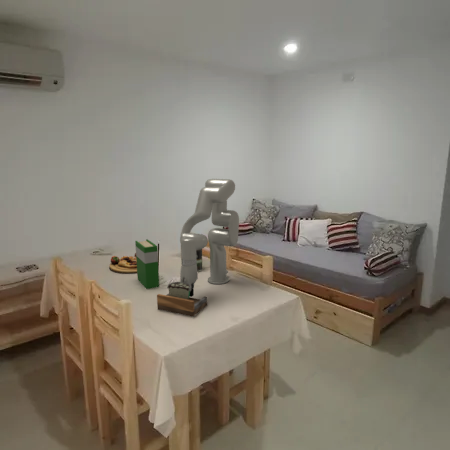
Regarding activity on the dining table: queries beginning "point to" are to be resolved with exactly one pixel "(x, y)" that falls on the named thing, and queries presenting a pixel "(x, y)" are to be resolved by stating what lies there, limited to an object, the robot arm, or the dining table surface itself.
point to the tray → (181, 304)
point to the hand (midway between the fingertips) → (190, 295)
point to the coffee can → (199, 259)
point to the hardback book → (147, 264)
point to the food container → (179, 290)
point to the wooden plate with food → (124, 264)
